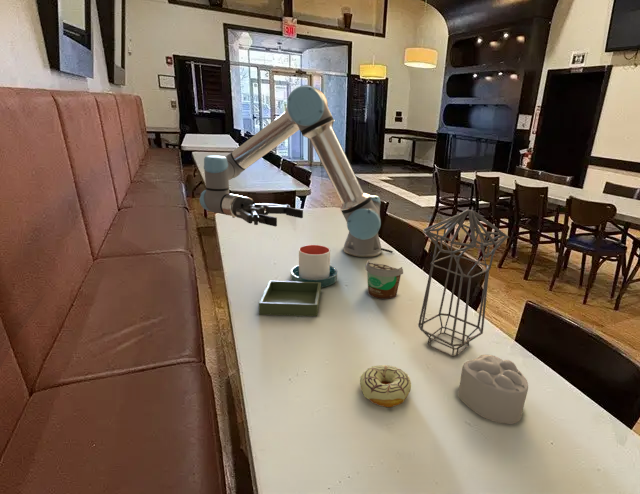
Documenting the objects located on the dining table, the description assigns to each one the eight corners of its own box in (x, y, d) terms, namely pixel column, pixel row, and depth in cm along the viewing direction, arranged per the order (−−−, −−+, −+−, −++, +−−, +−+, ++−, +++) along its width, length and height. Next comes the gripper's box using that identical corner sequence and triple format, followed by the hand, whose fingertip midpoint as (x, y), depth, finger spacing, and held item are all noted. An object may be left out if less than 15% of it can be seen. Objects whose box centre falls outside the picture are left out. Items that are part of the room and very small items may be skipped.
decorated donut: (359, 409, 80) (360, 393, 79) (359, 375, 90) (360, 361, 89) (412, 410, 81) (414, 394, 80) (406, 376, 91) (407, 362, 90)
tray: (320, 292, 128) (320, 282, 127) (317, 316, 114) (317, 305, 113) (269, 290, 127) (269, 280, 125) (259, 314, 112) (258, 303, 111)
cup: (332, 274, 142) (333, 246, 138) (325, 285, 132) (326, 256, 129) (303, 271, 142) (303, 243, 139) (295, 282, 133) (294, 252, 129)
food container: (357, 295, 129) (358, 265, 125) (365, 288, 134) (367, 259, 130) (393, 304, 125) (396, 273, 121) (400, 296, 130) (403, 267, 126)
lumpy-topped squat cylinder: (484, 378, 93) (490, 345, 90) (533, 412, 83) (543, 376, 80) (451, 393, 87) (457, 358, 84) (500, 432, 77) (509, 394, 74)
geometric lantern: (405, 343, 104) (421, 207, 91) (440, 323, 115) (458, 199, 103) (459, 371, 95) (485, 223, 82) (491, 346, 106) (517, 213, 93)
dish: (337, 271, 145) (338, 263, 144) (336, 289, 131) (336, 281, 130) (293, 270, 144) (293, 262, 143) (287, 288, 130) (287, 279, 129)
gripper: (264, 211, 154) (311, 221, 146) (211, 224, 133) (263, 237, 125) (263, 191, 151) (312, 200, 143) (210, 201, 130) (263, 213, 122)
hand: (289, 218), depth 134 cm, fingers open, 13 cm apart
